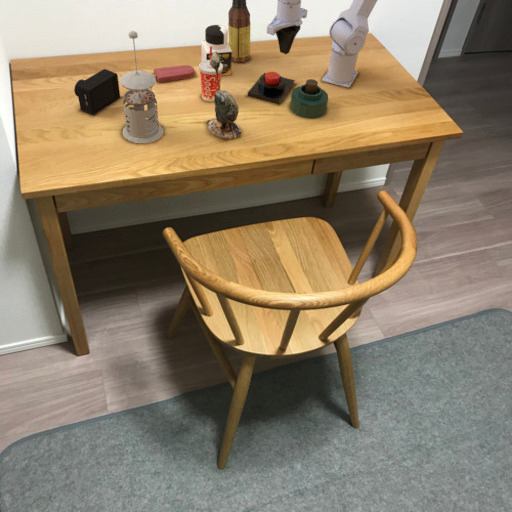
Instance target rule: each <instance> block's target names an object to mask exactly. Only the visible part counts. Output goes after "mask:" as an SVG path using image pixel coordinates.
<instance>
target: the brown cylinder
mask: <svg viewBox="0 0 512 512" xmlns="http://www.w3.org/2000/svg"><path fill="white" fill-rule="evenodd" d="M305 84H306V87H305V94H309V95H316V92H317V86H319V85H318V84H319V82H318V81H317V80H316V79H314V78H311V79H310V78H309V79H307V80H306V81H305Z"/></svg>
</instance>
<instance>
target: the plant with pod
mask: <svg viewBox="0 0 512 512" xmlns="http://www.w3.org/2000/svg"><path fill="white" fill-rule="evenodd" d="M210 59H211V60H210V64H211V66H212V67H213V68H214V69H215V70H216V76H217V81H218V89H219V90H218V91H217V92H216V93H215V95H214V96H215V98H214V99H215V101H214V113H215V118H212V119H208V120H206V125H207V127H208V132H209V133H210V134H213V135H214V136H216V137H218V138H220V139H222V140H231V139H236V138H238V137H239V136H241V135H242V133H243V132H242V130H241V126H239V124H236V121H237V119H238V116H239V109H240V108H239V105H238V103H237V100H235V98H234V96H233V95H231V93H230V92H228V91H227V90H221V87H220V88H219V80H218V68H219V67H220V57H219V54H218V52H214V53H213V54H212V56H211V57H210Z"/></svg>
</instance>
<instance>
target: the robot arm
mask: <svg viewBox="0 0 512 512" xmlns="http://www.w3.org/2000/svg"><path fill="white" fill-rule="evenodd" d="M377 3H378V0H353V1H352V2H351V5H350V6H349V8H348V9H344V10H342V11H341V12H340V14H339V16H338V17H337V18H336V19H335V20H334V21H333V22H332V24H331V25H330V27H329V31H328V33H329V34H328V35H329V37H330V39H331V50H330V56H329V61H328V67H327V72H326V73H325V75H324V76H323V78H322V80H321V81H322V82H324V83H328V84H333V85H336V86H339V87H343V88H346V89H347V88H350V87H351V86H352V84H353V82H354V81H355V79H356V77H357V76H358V74H359V72H358V71H357V70H356V67H357V62H358V57H359V53H360V52H361V51H362V50H363V48H364V47H365V45H366V38H367V36H368V34H369V32H370V29H369V20H368V19H369V17H370V15H371V14H372V12H373V10H374V8H375V6H376V4H377ZM301 5H302V0H277V5H276V14H275V16H274V18H273V19H272V20H271V21H270V23H269V24H267V25H266V33H267V34H269V35H271V36H275V35H276V38H277V41H278V48H279V53H281V54H284V55H288V54H289V53H290V51H291V50H292V49H291V48H292V46H293V43H294V40H295V39H296V36H297V35H298V34H299V32H300V30H301V25H303V20H302V19H306V18H308V9H306V8H303V7H301Z"/></svg>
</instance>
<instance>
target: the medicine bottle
mask: <svg viewBox="0 0 512 512" xmlns="http://www.w3.org/2000/svg"><path fill="white" fill-rule="evenodd" d="M204 34H205V37H204V39H205V40H201V42H200V43H201V44H200V45H201V46H200V47H201V49H200V51H201V58H200V59H201V62H202V61H205V60H210V46H211V47H212V54H213V53H214V52H218V54H219V57H220V63H221V64H222V65H223V68H222V69H223V70H222V73H221V76H226V75H227V76H228V75H231V74H232V62H233V61H232V50H231V48H230V46H229V33H228V28H227V27H225V26H223V25H220V24H211V25H209V26H207V27H206V28H205V33H204Z"/></svg>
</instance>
